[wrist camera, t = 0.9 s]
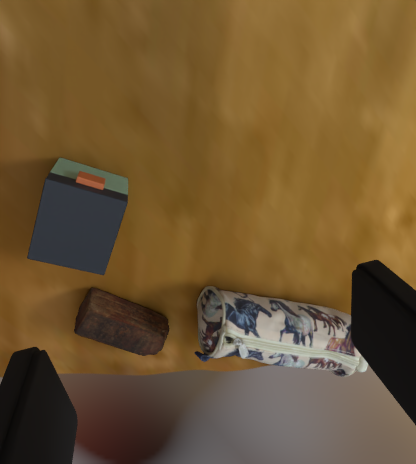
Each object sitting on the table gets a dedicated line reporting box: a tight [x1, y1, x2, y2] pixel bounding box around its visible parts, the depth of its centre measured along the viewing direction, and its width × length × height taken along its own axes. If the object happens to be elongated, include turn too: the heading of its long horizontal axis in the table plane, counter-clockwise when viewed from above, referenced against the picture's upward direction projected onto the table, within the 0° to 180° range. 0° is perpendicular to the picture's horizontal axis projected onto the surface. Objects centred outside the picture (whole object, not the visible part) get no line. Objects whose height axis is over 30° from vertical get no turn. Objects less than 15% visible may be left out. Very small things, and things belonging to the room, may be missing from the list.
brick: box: [74, 288, 169, 356], centre depth 44 cm, size 11×4×5 cm, turn 56°
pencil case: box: [195, 286, 368, 377], centre depth 46 cm, size 22×8×10 cm, turn 70°
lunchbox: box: [27, 158, 128, 275], centre depth 36 cm, size 9×7×7 cm
